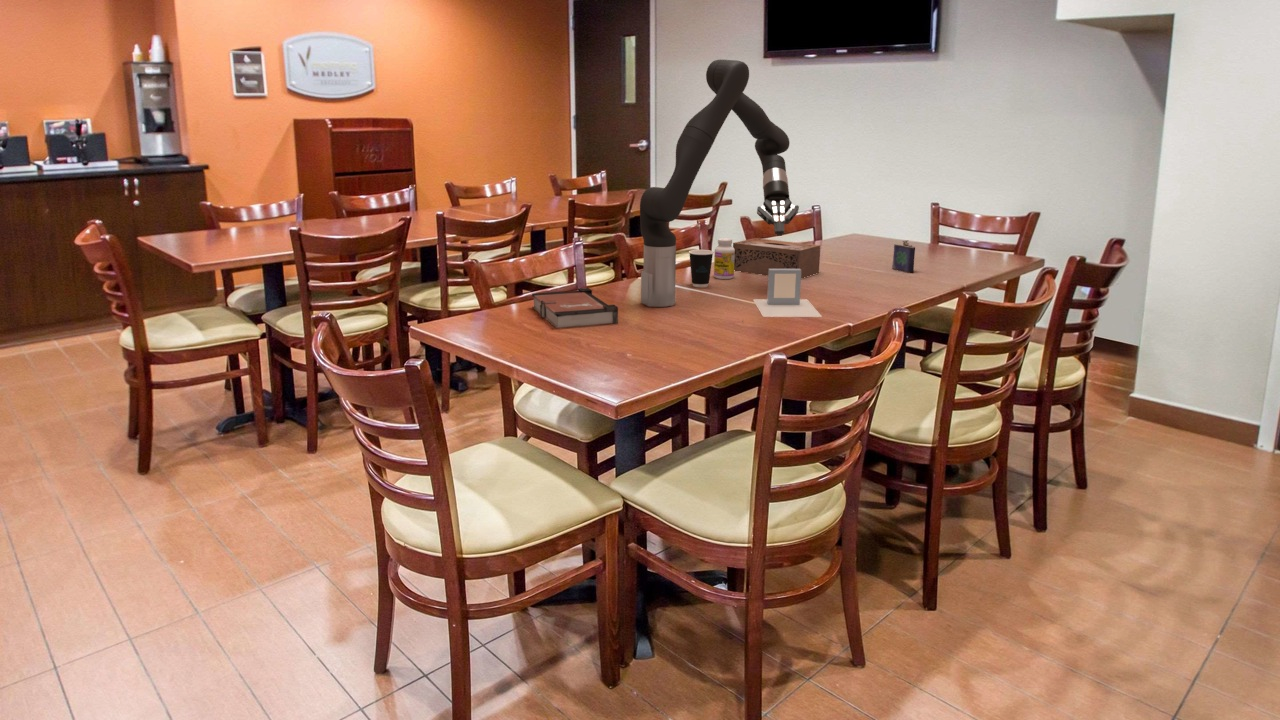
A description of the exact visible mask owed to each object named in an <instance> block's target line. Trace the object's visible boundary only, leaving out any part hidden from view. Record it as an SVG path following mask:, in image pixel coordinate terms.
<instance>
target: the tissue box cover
mask: <svg viewBox="0 0 1280 720" xmlns="http://www.w3.org/2000/svg"><path fill="white" fill-rule="evenodd" d="M732 244H733V245H732V247H733V248H734V249H735V258H734V270H735V271H734V272H736V271H741V272H740V273H744V272H748V273H747V274H751V273H755V274H754V275H758V274H762V275H761V276H766V275H768V269H801V278H803V279H805V278H804V277H806V278H808V277H807V276H810V275H813V274H816V273H819V274H820V260H821V244H812V243H803V242H794V241H785V240H776V239H768V238H758V237H754V238H749V239H744V240H740V241H736V242H732ZM816 275H817V274H816ZM813 276H814V275H813ZM810 277H811V276H810Z"/></svg>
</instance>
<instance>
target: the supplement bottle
mask: <svg viewBox="0 0 1280 720" xmlns="http://www.w3.org/2000/svg"><path fill="white" fill-rule="evenodd" d="M717 244H718V246H716V247H715V248H714V259H713V260H714V261H713V277H714V278H715V279H719V280H730V279H732V278H734V275H735V271H734V258H735V249H734V248H733V245H732V244H733V239H732V238H729V237H726V238H725V237H723V238H721V237H720V238H718V239H717Z"/></svg>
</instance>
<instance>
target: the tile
mask: <svg viewBox="0 0 1280 720" xmlns="http://www.w3.org/2000/svg"><path fill="white" fill-rule="evenodd" d="M801 285H802V279H801V269H768V276H767V293H766V299H767V304H768V305H800V299H801V287H802V286H801Z"/></svg>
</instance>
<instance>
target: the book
mask: <svg viewBox="0 0 1280 720" xmlns="http://www.w3.org/2000/svg"><path fill="white" fill-rule="evenodd" d="M531 297H532V298H533V306H532V307H531V308H532V309H533V310H534V311H536V313H538V314H539V315H540V317H541V318H542V319H545V321H547V322H548V323H549V324H550V325H551V326H553V327H554V328H555V329H556V330H558V329H559V330H560V329H561V330H562V329H572V328H583V327H584V328H585V327H594V326H605V325H606V326H607V325H616V324H618V323H619V307H618V306H617V305H615V304H607V303H605V302H604V301H603V300H601V299H600V298H598V296H595V295H593V290H592V289H591V288H589V287H584V288H578V289H577V290H566V291H550V292H535V293H531Z"/></svg>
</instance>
